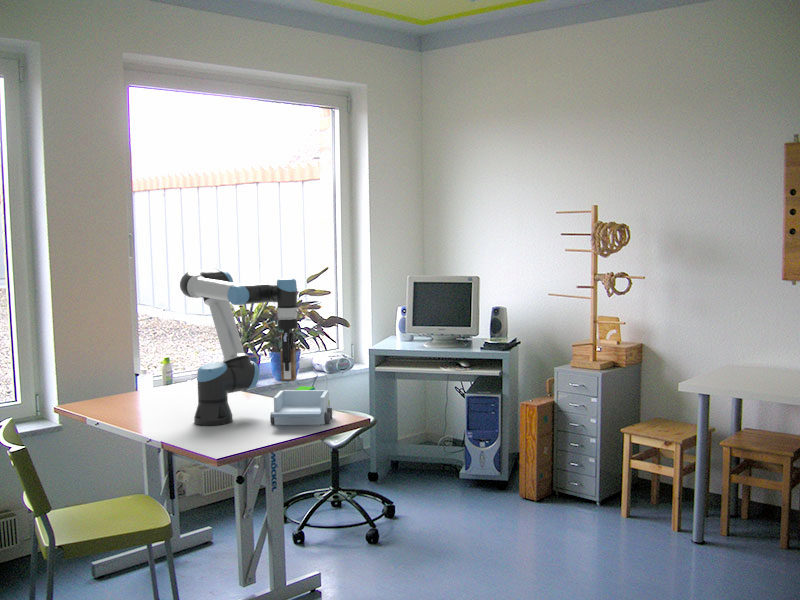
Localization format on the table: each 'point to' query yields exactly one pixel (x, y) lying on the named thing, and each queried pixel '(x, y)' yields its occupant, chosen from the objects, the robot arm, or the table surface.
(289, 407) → the truck bed
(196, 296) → the robot arm
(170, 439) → the table surface
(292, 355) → the brown wooden block
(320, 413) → the tailgate
